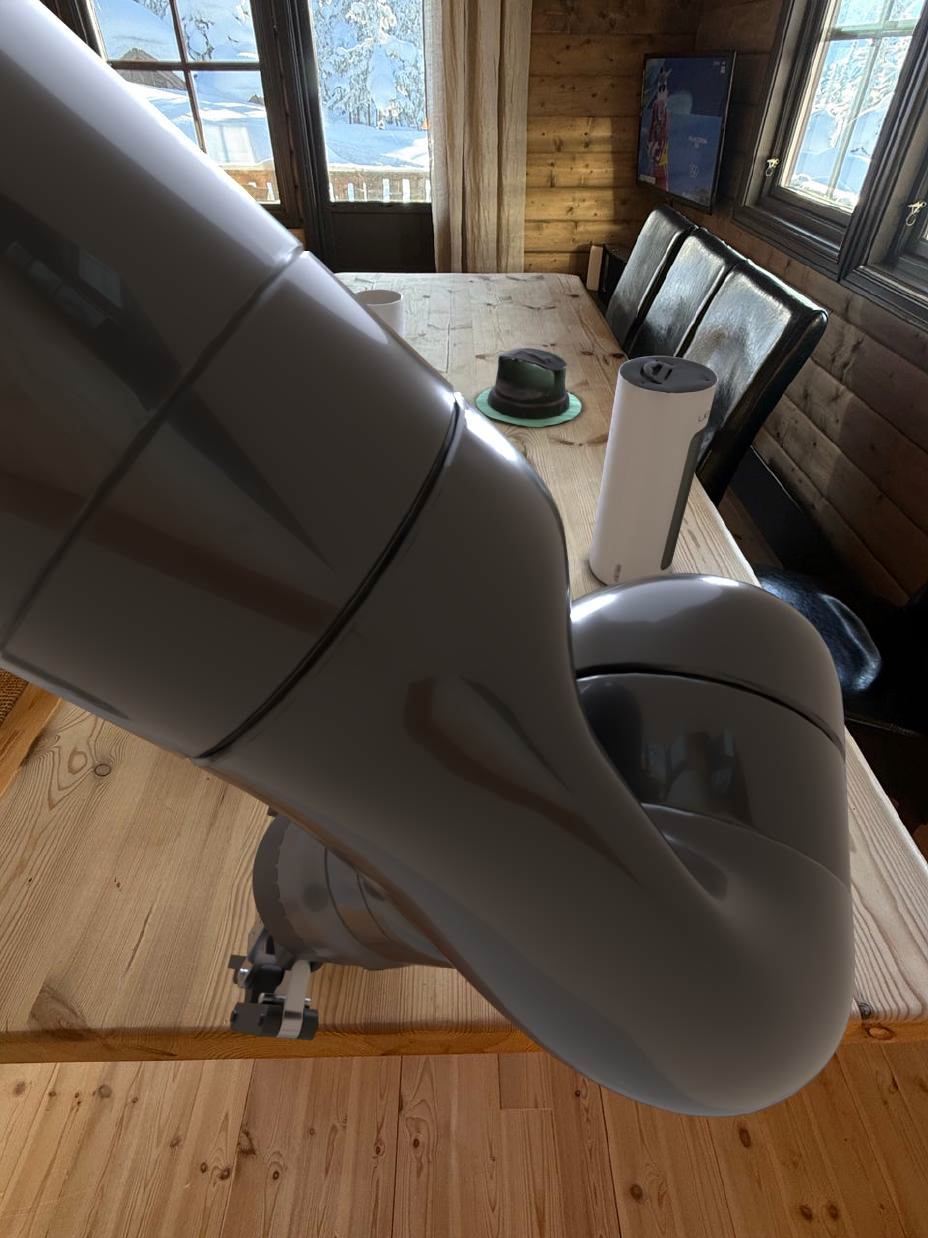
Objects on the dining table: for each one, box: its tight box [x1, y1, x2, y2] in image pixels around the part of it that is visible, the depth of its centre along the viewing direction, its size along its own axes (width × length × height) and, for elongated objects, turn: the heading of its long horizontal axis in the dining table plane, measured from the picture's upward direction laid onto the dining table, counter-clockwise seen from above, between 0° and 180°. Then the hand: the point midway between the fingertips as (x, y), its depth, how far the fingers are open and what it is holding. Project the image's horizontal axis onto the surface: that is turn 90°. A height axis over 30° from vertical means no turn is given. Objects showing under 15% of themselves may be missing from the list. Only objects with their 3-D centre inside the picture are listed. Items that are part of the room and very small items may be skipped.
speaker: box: [588, 355, 719, 586], centre depth 77 cm, size 11×10×26 cm
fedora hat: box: [475, 347, 582, 428], centre depth 124 cm, size 15×19×20 cm
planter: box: [354, 288, 406, 340], centre depth 145 cm, size 12×12×11 cm
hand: (265, 884), depth 40 cm, fingers open, 8 cm apart
